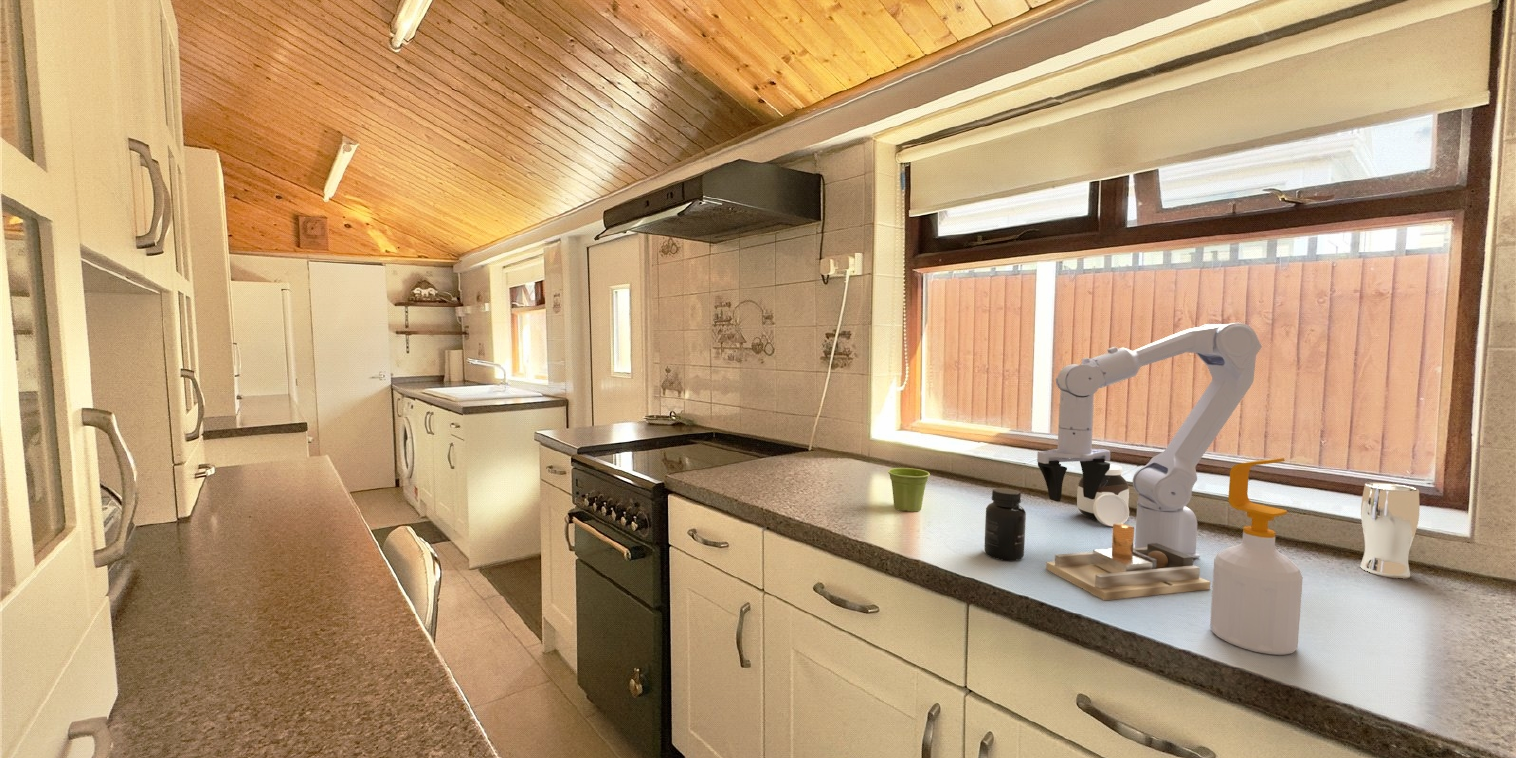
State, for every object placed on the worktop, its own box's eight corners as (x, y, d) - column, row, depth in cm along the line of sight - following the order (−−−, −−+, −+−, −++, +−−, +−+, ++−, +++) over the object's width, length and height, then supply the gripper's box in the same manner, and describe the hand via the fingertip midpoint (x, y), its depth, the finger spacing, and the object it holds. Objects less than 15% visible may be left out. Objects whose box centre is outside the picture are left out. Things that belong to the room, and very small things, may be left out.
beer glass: (1401, 568, 108) (1408, 484, 107) (1423, 582, 102) (1430, 493, 101) (1349, 562, 111) (1355, 480, 110) (1367, 575, 105) (1374, 488, 104)
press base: (1141, 560, 111) (1143, 537, 111) (1209, 589, 98) (1211, 563, 98) (1046, 568, 106) (1047, 545, 106) (1104, 600, 94) (1105, 573, 94)
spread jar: (1103, 510, 143) (1105, 461, 142) (1149, 524, 133) (1152, 471, 132) (1064, 515, 139) (1066, 464, 138) (1108, 530, 128) (1110, 475, 128)
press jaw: (1121, 561, 106) (1123, 519, 106) (1155, 576, 99) (1158, 531, 99) (1092, 563, 105) (1094, 521, 104) (1125, 579, 98) (1128, 534, 98)
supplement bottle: (1028, 563, 109) (1030, 496, 108) (987, 560, 110) (989, 494, 110) (1019, 550, 116) (1022, 487, 115) (981, 547, 117) (983, 485, 116)
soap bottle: (1276, 663, 76) (1290, 466, 74) (1195, 631, 84) (1206, 453, 82) (1310, 647, 80) (1324, 460, 78) (1231, 618, 88) (1241, 448, 86)
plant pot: (907, 501, 150) (908, 466, 149) (937, 510, 142) (938, 473, 141) (878, 506, 145) (879, 470, 144) (907, 516, 137) (908, 478, 136)
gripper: (1057, 432, 110) (1053, 506, 111) (1124, 430, 114) (1121, 502, 115) (1031, 426, 117) (1028, 496, 118) (1095, 424, 120) (1092, 493, 121)
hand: (1072, 499), depth 117 cm, fingers open, 7 cm apart
